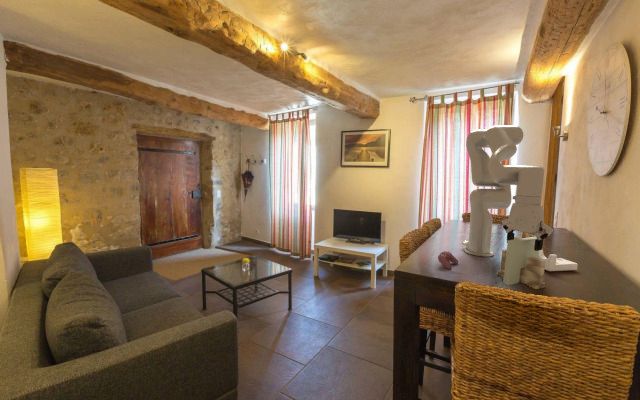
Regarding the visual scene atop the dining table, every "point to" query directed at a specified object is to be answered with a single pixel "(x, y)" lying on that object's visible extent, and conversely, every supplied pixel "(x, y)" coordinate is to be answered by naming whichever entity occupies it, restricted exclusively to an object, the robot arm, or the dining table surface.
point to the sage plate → (518, 258)
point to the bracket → (557, 263)
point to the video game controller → (447, 259)
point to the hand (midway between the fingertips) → (523, 246)
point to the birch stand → (528, 271)
